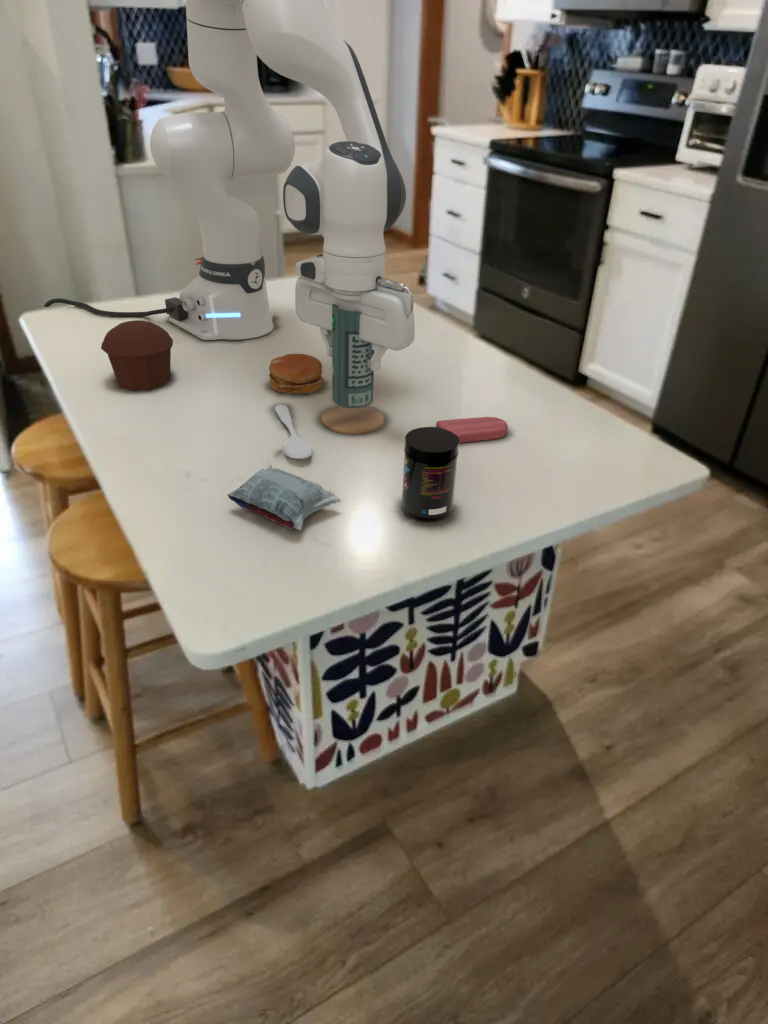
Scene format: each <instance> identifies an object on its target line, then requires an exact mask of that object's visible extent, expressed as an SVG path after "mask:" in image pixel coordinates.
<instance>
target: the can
mask: <svg viewBox="0 0 768 1024" xmlns="http://www.w3.org/2000/svg"><path fill="white" fill-rule="evenodd" d="M360 314H362V312H358V311H347V310H343V309H339V308H338V306H337V305H335V304H332V357H331V365H332V366H331V369H332V370H331V371H332V372H331V374H332V375H331V376H332V377H331V383H332V384H331V385H332V390H331V391H332V392H331V393H332V396H331V397H332V398H331V399H332V402H333V403H334V404H335V405H336V406H339V405H340V406H341V407H345V408H349V409H350V408H355V409H357V408H363V407H367V406H370V405H372V404H373V403H374V386H375V385H374V380H375V371H372V370H369V369H366V365H367V364H366V359H367V358H369V357H371V356H373V354H374V352H375V350H372V343H369V342H366V341H363V340H360V337H359V327H360Z"/></svg>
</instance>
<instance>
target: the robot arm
mask: <svg viewBox="0 0 768 1024" xmlns="http://www.w3.org/2000/svg"><path fill="white" fill-rule="evenodd" d="M185 15H186V34H187V38H186V39H187V54H188V67H189V69H190V72H191V74H192V76H193V77H194V79H195V80H196V82H198V84H200V85H201V86H202V87H204V88H205V89H207V90H209V91H211V92H212V93H214V94H215V95H218V96H220V97H222V99H223V101H224V110H222V111H220V112H219V111H217V112H214V111H212V112H210V111H209V112H182V113H177V114H173V115H169V116H165V117H161V118H159V119H158V120H157V121H156V122H155V124H154V125H153V128H152V131H151V133H150V141H149V149H150V153H151V157H152V160H153V163H154V165H156V167H157V169H158V170H159V171H160V173H162V174H163V176H165V177H166V178H167V179H169V180H170V181H171V182H172V183H174V184H176V185H177V187H179V188H180V189H181V191H183V193H184V194H185V195H186V196H187V198H188V199H189V201H190V202H191V204H192V206H193V209H194V211H195V212H196V216H197V219H198V224H199V229H200V235H201V243H202V252H203V256H202V257H198V258H195V259H194V261H197V262H195V263H194V265H195V266H198V265H200V266H199V271H198V275H196V277H195V278H194V279H193V280H192V281H190V282H189V283H188V284H187V285H186V286H184V288H182V289H181V291H180V293H179V298H178V297H177V296H174V297H170V298H166V299H164V304H165V308H159V309H154V310H148V311H111V310H110V311H109V310H102V309H98V308H96V307H93V306H91V305H90V304H87V303H84V302H80V301H75V300H70V299H67V298H59V297H58V298H56V297H55V298H51V299H50V300H48V301H46V302H45V304H44V305H43V307H44V308H49V307H51V305H54V304H64V305H65V304H66V305H70V306H74V307H79V308H84V309H86V310H88V311H90V312H92V313H94V314H97V315H100V316H108V317H124V318H126V317H128V318H129V317H133V318H134V317H150V316H154V315H161V314H166V315H168V322H170V323H172V324H173V325H175V326H177V327H179V328H181V329H183V330H184V331H186V332H188V333H190V334H191V335H194V336H195V337H197V338H199V339H200V340H202V341H216V340H217V341H218V340H231V341H232V340H233V341H234V340H235V341H236V340H237V341H238V340H249V339H255V338H259V337H263V336H265V335H267V334H270V333H271V332H272V331H273V330H274V328H275V326H274V322H273V320H274V314H273V312H272V311H271V308H270V301H269V294H268V289H267V288H268V287H267V283H266V281H265V276H266V262H265V257H264V255H262V235H261V221H260V217H259V215H258V214H257V212H256V210H255V209H254V208H253V207H252V206H250V205H249V204H247V203H246V202H243V201H242V200H241V199H237V198H235V197H233V196H231V195H230V194H229V192H228V189H227V182H230V181H240V180H259V179H260V180H261V179H262V180H263V179H267V178H270V177H274V176H277V175H281V174H285V173H286V172H287V171H288V170H289V168H290V167H291V165H292V163H293V161H294V157H295V153H296V152H295V151H296V142H295V137H294V135H293V131H292V129H291V127H290V126H289V124H288V123H287V121H286V120H285V119H284V118H283V117H282V116H280V114H279V113H278V112H276V110H274V108H273V107H272V106H271V104H270V103H269V101H268V99H267V98H266V96H265V94H264V91H263V88H262V86H261V82H260V76H259V68H258V58H259V59H260V60H261V62H262V63H264V65H266V66H267V67H268V68H269V69H271V70H272V71H273V72H275V73H277V74H279V75H280V76H283V77H284V78H286V79H290V80H292V81H295V82H298V83H300V84H302V85H305V86H307V87H309V88H310V89H311V90H314V91H316V92H318V93H319V94H320V95H322V96H323V97H324V98H325V99H327V100H328V102H329V103H330V104H331V105H332V106H333V108H334V110H335V112H336V113H337V115H338V119H339V122H340V124H341V127H342V131H343V133H344V136H345V139H346V140H345V141H342V140H341V141H336V142H333V143H331V144H330V145H329V146H327V148H325V151H324V154H323V155H322V156H320V157H319V158H317V159H315V160H312V161H308V162H307V163H303V164H300V165H296V166H294V167H293V169H291V171H290V172H289V174H288V175H287V176H286V179H285V181H284V184H283V189H282V200H283V209H284V215H285V217H286V219H287V220H288V222H289V223H290V224H291V225H292V226H293V227H294V228H295V229H296V230H297V231H298V232H300V233H302V234H303V235H304V234H305V235H312V236H317V235H318V236H319V235H321V236H322V237H323V246H322V253H321V254H317V255H314V256H310V257H308V258H305V259H302V260H299V261H297V262H296V263H295V272H296V275H297V276H298V278H297V279H296V283H295V288H294V289H295V290H294V291H295V292H294V300H295V301H294V306H295V314H296V316H297V317H298V320H299V321H300V322H301V323H305V324H308V325H311V326H315V327H317V328H320V329H319V331H320V335H321V338H322V340H323V343H324V345H325V346H326V356H327V357H330V358H332V304H335V305H337V306H338V308H339V309H343V310H347V311H358V312H362V314H360V327H359V337H360V340H363V341H366V342H369V343H372V350H374V354H373V356H371V357H369V358H367V359H366V364H367V365H366V369H369V370H372V371H374V372H377V371H380V370H381V367H382V358H383V357H384V355H385V354H386V352H387V351H388V349H389V350H392V351H396V352H399V351H402V350H405V349H406V348H409V347H410V346H411V345H412V344H413V343H414V341H415V339H416V329H415V328H416V327H415V326H416V325H415V312H414V301H415V299H414V298H415V297H414V294H413V293H412V291H411V290H410V288H408V287H407V285H406V283H403V282H401V281H394V280H392V279H389V278H386V257H387V255H386V252H387V247H386V242H385V237H384V232H386V231H389V230H390V229H391V228H392V227H393V226H394V225H395V223H396V222H397V221H398V219H399V218H400V216H401V215H402V213H403V211H404V208H405V205H406V200H407V189H406V185H405V181H404V178H403V176H402V173H401V171H400V169H399V167H398V165H397V164H396V161H395V159H394V158H393V155H392V154H391V151H390V148H389V145H388V143H387V140H386V137H385V134H384V131H383V127H382V124H381V122H380V119H379V116H378V113H377V110H376V107H375V104H374V101H373V98H372V95H371V92H370V90H369V86H368V84H367V79H366V77H365V75H364V71H363V70H362V67H361V64H360V61H359V59H358V57H357V54H356V52H355V51H354V49H353V47H352V45H350V44H349V43H348V42H347V41H345V40H344V39H343V37H341V35H340V33H339V32H338V31H337V29H336V27H335V26H334V25H333V22H332V21H331V18H330V17H329V14H328V12H327V10H326V7H325V5H324V2H323V0H185Z"/></svg>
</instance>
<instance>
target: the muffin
mask: <svg viewBox="0 0 768 1024" xmlns="http://www.w3.org/2000/svg"><path fill="white" fill-rule="evenodd" d="M173 345H174V338H173V337H172V336H171V335H170V333H169V332H168V331H167V330H166V329H164V328H163V327H161V326H160V325H158V324H156V323H154V322H152V321H149V320H148V321H147V320H142V319H141V320H139V319H137V320H136V319H135V320H127V321H123V322H120V323H119V324H117V325H115V326H114V327H112V328H110V329H109V330H108V331H107V332H106V334H105V336H104V337H103V340H102V342H101V345H100V350H102V351H103V352H104V353H106V355H107V357H108V361H109V362H110V366H111V369H112V371H113V374H114V378H115V379H116V382H117V384H118V386H119V388H123V389H127V390H130V391H151V390H153V389H157V388H160V387H164V386H165V385H166V384H167V383H168V382H169V381H170V380H171V364H172V363H171V356H172V348H173Z"/></svg>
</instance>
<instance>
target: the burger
mask: <svg viewBox="0 0 768 1024" xmlns="http://www.w3.org/2000/svg"><path fill="white" fill-rule="evenodd" d="M268 371H269V374H268V375H269V382H268V384H269V387H270V389H271V390H273V391H275V392H277V393H281V394H282V393H283V394H289V393H291V394H296V395H300V394H301V395H302V394H312V393H314V392H317V391H319V390H321V388H323V385H324V378H323V376H322V374H323V363H322V361H320V360H319V359H318V358H316V357H315V356H312V355H309V354H304V353H288V354H284V355H281V356H278V357H274V358H272V359H271V361H270V364H269V366H268Z"/></svg>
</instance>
